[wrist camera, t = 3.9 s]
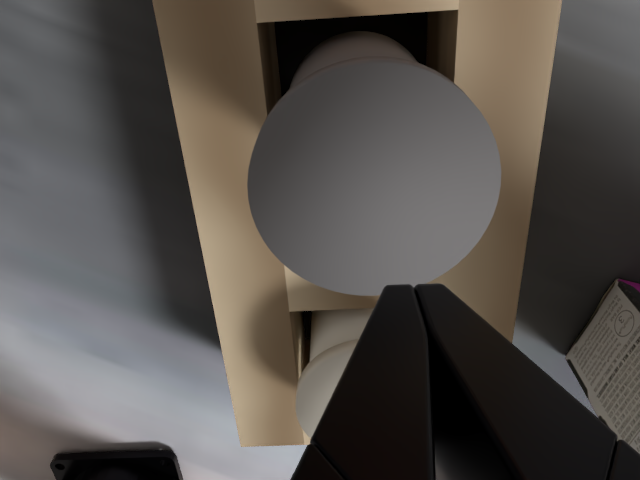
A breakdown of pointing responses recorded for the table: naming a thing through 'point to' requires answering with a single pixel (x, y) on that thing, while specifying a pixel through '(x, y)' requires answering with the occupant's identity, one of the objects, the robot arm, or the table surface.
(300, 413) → the white plug
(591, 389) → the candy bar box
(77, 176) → the table surface
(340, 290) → the grey rounded piece
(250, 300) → the socket block
